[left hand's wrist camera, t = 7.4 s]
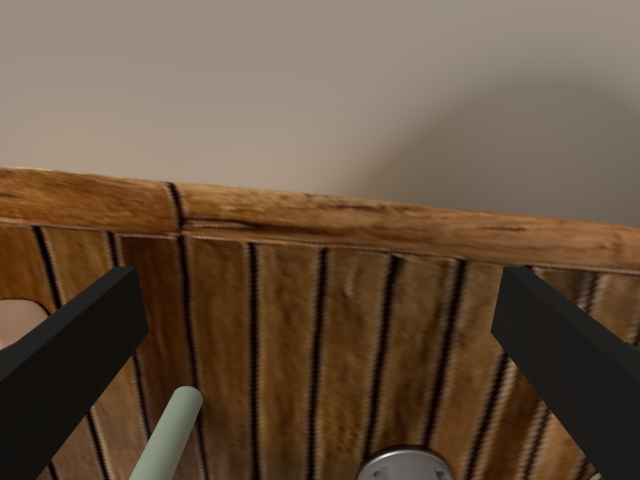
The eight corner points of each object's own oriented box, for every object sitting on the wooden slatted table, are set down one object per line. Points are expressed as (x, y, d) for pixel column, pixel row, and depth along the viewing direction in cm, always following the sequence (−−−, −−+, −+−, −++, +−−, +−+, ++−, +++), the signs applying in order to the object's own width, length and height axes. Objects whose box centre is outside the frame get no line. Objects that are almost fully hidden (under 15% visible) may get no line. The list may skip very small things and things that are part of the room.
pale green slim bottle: (169, 403, 51) (92, 553, 33) (178, 382, 49) (101, 527, 32) (197, 412, 51) (136, 565, 34) (207, 391, 50) (147, 539, 33)
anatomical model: (-6, 301, 40) (63, 372, 43) (22, 284, 44) (83, 351, 47) (-87, 344, 42) (-16, 409, 46) (-54, 325, 46) (10, 386, 49)
